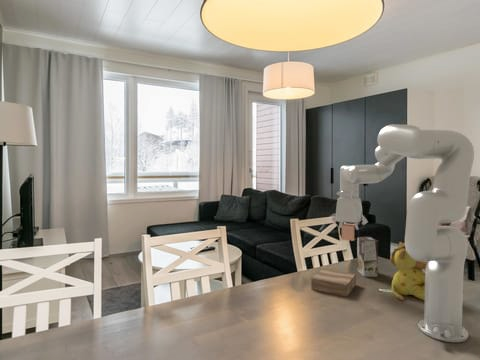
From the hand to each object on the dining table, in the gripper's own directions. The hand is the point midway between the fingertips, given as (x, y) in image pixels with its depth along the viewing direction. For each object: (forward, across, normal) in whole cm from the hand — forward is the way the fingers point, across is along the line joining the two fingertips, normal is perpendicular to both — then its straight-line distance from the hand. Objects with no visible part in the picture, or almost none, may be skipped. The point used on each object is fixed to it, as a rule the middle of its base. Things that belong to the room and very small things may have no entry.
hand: (349, 237), depth 137 cm
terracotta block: (+1, 0, 0) cm, 1 cm away
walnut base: (+19, -4, -9) cm, 21 cm away
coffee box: (+19, +4, +15) cm, 25 cm away
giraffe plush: (+20, +24, +2) cm, 31 cm away
